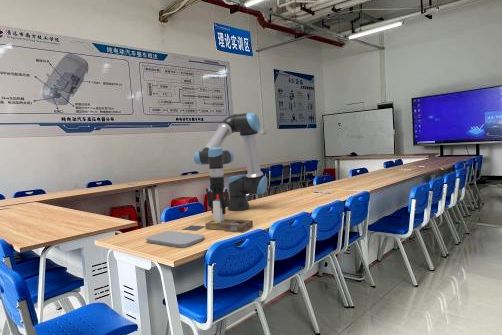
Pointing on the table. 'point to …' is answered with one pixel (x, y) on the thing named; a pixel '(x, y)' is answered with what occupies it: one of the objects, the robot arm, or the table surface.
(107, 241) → the table surface
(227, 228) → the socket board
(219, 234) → the table surface
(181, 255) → the table surface
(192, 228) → the mat
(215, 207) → the grey upright block
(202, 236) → the tablet
